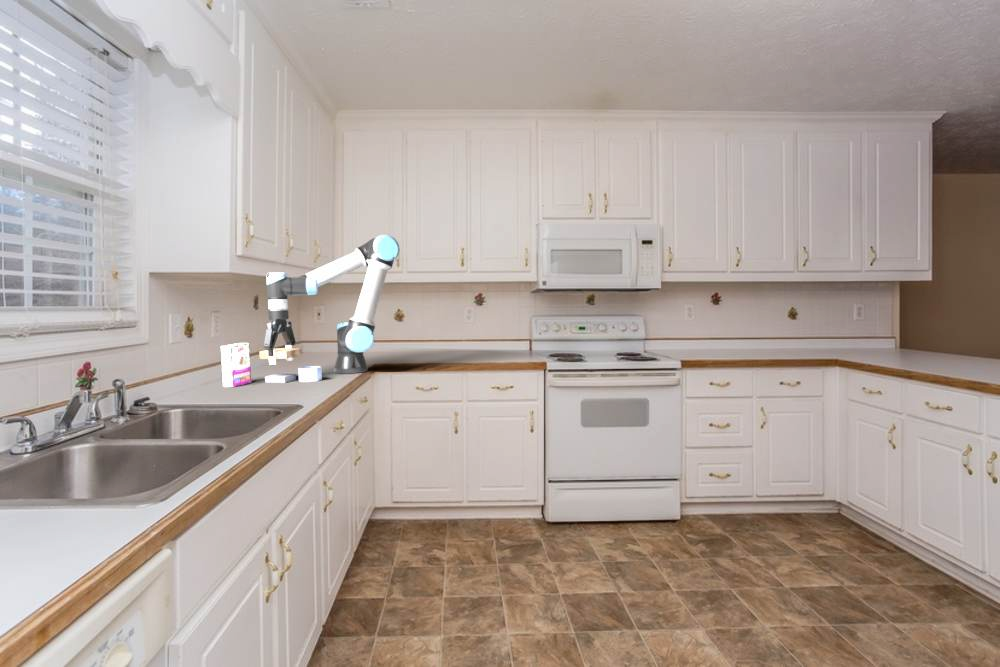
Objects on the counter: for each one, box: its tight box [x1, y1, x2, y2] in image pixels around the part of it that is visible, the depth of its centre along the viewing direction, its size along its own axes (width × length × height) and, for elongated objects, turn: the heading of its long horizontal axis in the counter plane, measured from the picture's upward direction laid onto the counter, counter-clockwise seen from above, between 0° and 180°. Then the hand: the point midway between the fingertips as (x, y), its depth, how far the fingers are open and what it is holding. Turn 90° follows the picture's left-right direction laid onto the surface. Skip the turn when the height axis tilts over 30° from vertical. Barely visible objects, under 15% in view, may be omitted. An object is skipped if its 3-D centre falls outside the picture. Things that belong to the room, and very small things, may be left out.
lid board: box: [259, 347, 303, 360], centre depth 209 cm, size 11×12×3 cm
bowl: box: [297, 365, 323, 383], centre depth 212 cm, size 9×9×6 cm
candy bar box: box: [220, 342, 252, 388], centre depth 201 cm, size 11×5×16 cm, turn 171°
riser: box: [264, 373, 297, 384], centre depth 210 cm, size 8×9×2 cm
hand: (281, 362), depth 210 cm, fingers closed on lid board, 11 cm apart
